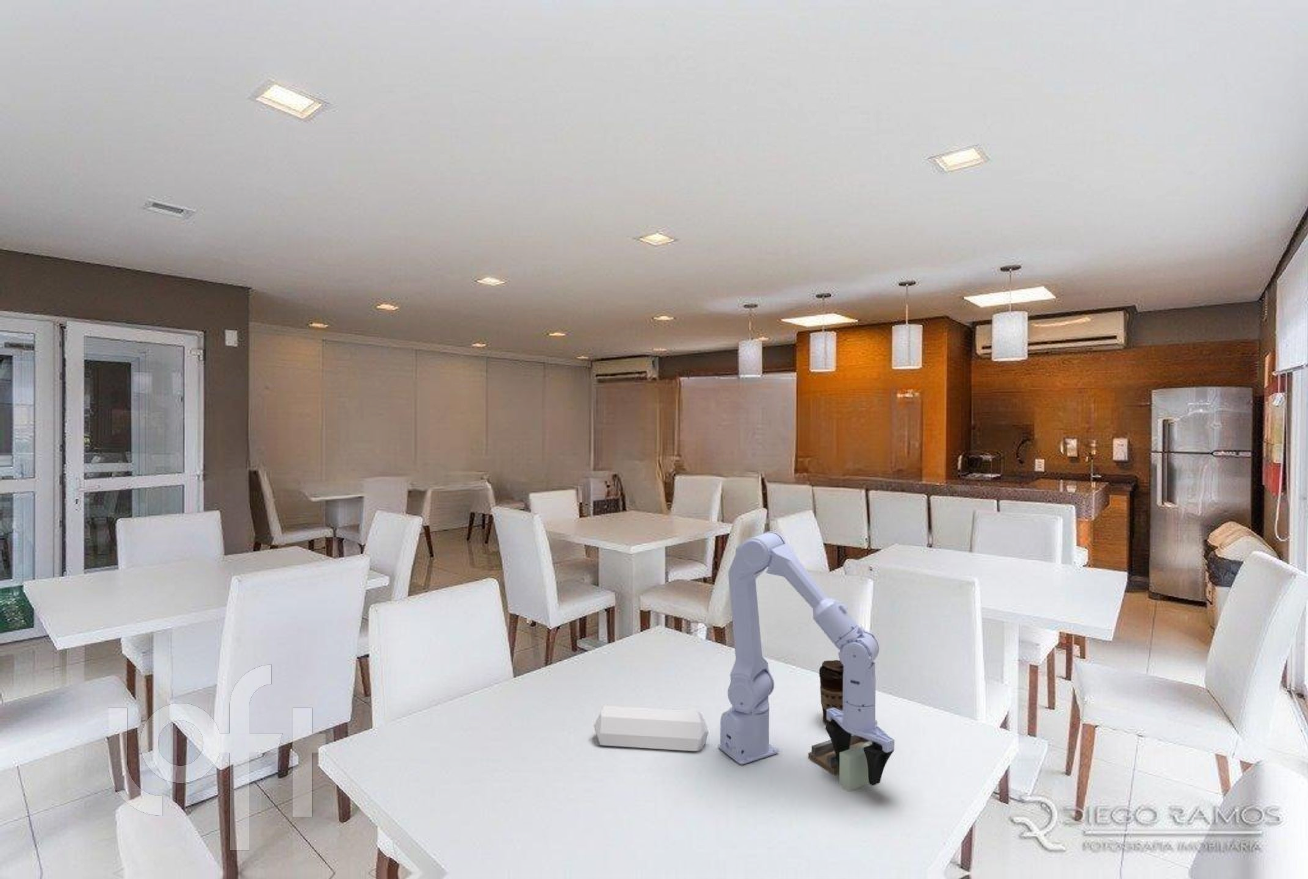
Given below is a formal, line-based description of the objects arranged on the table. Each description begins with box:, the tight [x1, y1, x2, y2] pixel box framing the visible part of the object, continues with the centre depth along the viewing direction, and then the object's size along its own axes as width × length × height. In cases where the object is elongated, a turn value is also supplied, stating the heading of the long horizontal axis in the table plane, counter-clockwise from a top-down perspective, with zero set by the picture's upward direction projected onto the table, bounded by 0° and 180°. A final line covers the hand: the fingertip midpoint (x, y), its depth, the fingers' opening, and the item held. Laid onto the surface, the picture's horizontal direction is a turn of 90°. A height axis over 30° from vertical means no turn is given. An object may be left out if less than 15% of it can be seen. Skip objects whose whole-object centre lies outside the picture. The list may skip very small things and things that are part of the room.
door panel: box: [838, 743, 870, 792], centre depth 119 cm, size 7×2×6 cm, turn 119°
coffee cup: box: [818, 659, 844, 725], centre depth 142 cm, size 9×8×13 cm
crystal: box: [593, 705, 709, 752], centre depth 133 cm, size 7×7×24 cm
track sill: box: [807, 734, 872, 776], centre depth 128 cm, size 14×7×4 cm, turn 119°
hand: (858, 773), depth 119 cm, fingers open, 7 cm apart
